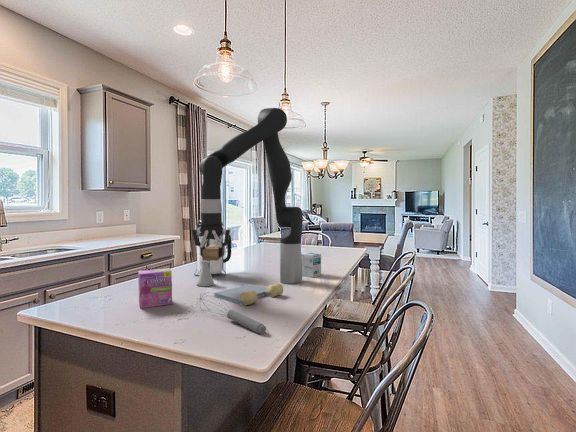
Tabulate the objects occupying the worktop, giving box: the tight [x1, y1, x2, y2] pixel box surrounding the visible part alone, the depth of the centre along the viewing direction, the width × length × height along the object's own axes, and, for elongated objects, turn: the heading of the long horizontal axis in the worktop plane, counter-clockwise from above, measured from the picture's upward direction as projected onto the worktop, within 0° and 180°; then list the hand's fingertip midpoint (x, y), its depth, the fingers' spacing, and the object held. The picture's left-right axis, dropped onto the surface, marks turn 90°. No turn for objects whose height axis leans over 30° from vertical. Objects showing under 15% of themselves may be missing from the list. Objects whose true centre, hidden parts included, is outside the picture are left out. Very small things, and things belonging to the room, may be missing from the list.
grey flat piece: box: [213, 282, 284, 306], centre depth 128 cm, size 18×18×4 cm
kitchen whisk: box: [196, 291, 270, 336], centre depth 102 cm, size 6×34×6 cm, turn 46°
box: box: [137, 267, 173, 309], centre depth 118 cm, size 10×6×12 cm, turn 118°
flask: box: [195, 261, 215, 287], centre depth 146 cm, size 7×7×10 cm
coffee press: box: [194, 218, 232, 277], centre depth 165 cm, size 17×16×30 cm
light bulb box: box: [301, 251, 322, 278], centre depth 165 cm, size 11×7×11 cm, turn 49°
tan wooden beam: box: [203, 245, 226, 260], centre depth 130 cm, size 12×6×4 cm, turn 178°
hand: (212, 257), depth 127 cm, fingers closed on tan wooden beam, 5 cm apart
